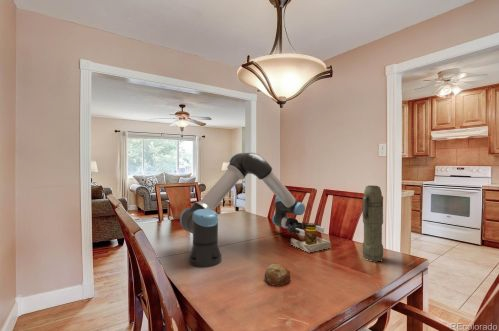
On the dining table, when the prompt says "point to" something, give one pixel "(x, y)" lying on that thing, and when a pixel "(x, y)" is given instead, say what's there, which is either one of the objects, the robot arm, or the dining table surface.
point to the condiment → (311, 234)
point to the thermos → (372, 223)
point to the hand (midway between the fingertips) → (314, 231)
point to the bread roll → (277, 274)
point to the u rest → (311, 248)
